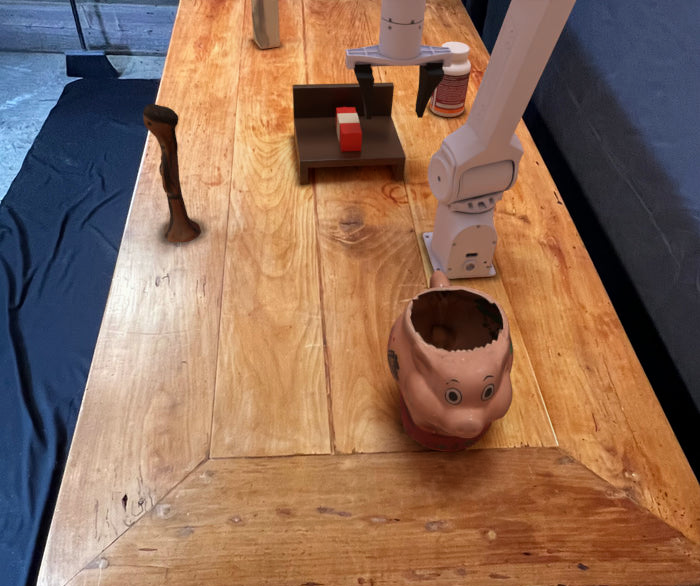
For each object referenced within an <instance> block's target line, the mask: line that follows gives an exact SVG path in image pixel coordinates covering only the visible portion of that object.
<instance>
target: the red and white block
mask: <svg viewBox="0 0 700 586" xmlns="http://www.w3.org/2000/svg"><path fill="white" fill-rule="evenodd" d="M336 129H337V135H338V140H339V142H340V147H341V151H342V152H347V151H361V144H362V131H361V127H360V122H359V118H358V115H357V113H356V109H355V107H342V108H336Z"/></svg>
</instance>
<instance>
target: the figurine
mask: <svg viewBox="0 0 700 586" xmlns="http://www.w3.org/2000/svg"><path fill="white" fill-rule="evenodd" d="M142 115H143V124H144V126H145V128H146V129H147V130H148V131H149V132H150V133H151V134H152V135H153V136H154V137H155V139H156V140H157V143H158V146H159V148H160V152H161V155H160V164H159V167H158V168H159V171H158V172H159V174H160V176H161V182H162V183H161V184H162V188H163V191H164V193H165V194H166V198H167V205H168V209H169V221H168V223H167V224H166V226H165V227H164V229H163V235H164V238H165V239H166V240H167V241H169V242H172V243H177V242H183V243H184V242H190V241H193V240H194V239H197V237H199V236H200V235H201V233H202V229H201V226H200V224H199V223H198V222H196V221H195V220H193V219H191V218H190V217H189V215H188V211H187V208H186V204H185V200H184V196H183V192H182V187H181V181H180V165H179V155H178V151H179V145H178V139H177V134H176V129H177V125H179V115H178V114H177V113H176V111H175V110H174V109H172V108H170V107H168V106H164V105H160V104H156V103H151V102H150V103H148V104H146V105H145V106H144V108H143V112H142Z"/></svg>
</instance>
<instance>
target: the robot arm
mask: <svg viewBox="0 0 700 586" xmlns="http://www.w3.org/2000/svg"><path fill="white" fill-rule="evenodd" d="M576 2H577V0H511V1H510V3H509V5H508V9H507V11H506V13H505V17H504V19H503V22H502V25H501V28H500V30H499V32H498V36H497V39H496V41H495V43H494V46H493V49H492V51H491V54H490V56H489V59H488V62H487V65H486V67H485V71H484V74H483V75H482V78H481V81H480V84H479V86H478V89H477V92H476V95H475V97H474V99H473V102H472V104H471V107H470V110H469V113H468V116H467V118H466V121H465V123H463V124H462V125H460V126H459V127H458V128H457V129H455V130H454V131H453V132H451V133H449V134H448V135H447V136H446V137H444V139H442V141H441V144H440V146H439V149H438V150H437V151H436V152H434V153H433V155H432V156H431V158H430V160H429V163H428V165H427V166H428V167H427V181H428V186H429V189H430V191H431V194H432V195H433V197H434V198H435V199H436V200H437V206H436V210H435V211H436V212H435V217H434V223H433V230H432V231H429V232H423V233H422V239H423V242H424V245H425V248H426V252H427V255H428V258H429V260H430V264H431V266H432V269H433V273H434V272H435V271H436V270H439V271H442V272H443V273H445V275H446V276H447V277H448V278H449V280H451V279H467V278H484V277H485V278H486V277H487V278H488V277H494V276H496V269H495V267H494V265H493V260H494V256H495V252H496V248H497V244H498V241H499V240H498V239H499V238H498V231H497V229H496V225H495V222H494V214H495V209H496V205H497V203H498V202H499V201H502V199H503V197H504V192H508V191H510V190H511V189H513V188H514V186H515V185H516V183H517V180H518V177H519V172H520V171H519V170H520V163H521V159H522V158H523V156H524V154H525V151H524V147H523V144H522V142H521V141H520V139H519V137H518V134H516V130H517V128H518V126H519V124H520V122H521V119H522V118H523V115H524V113H525V111H526V109H527V107H528V104H529V102H530V100H531V99H532V96H533V94H534V92H535V89H536V88H537V85H538V83H539V80H540V79H541V76H542V75H543V73H544V70H545V68H546V66H547V64H548V62H549V60H550V58H551V56H552V53H553V52H554V51H553V50H554V49H555V46H556V44H557V42H558V40H559V38H560V36H561V34H562V32H563V30H564V27H565V25H566V23H567V21H568V19H569V16H570V15H571V13H572V10H573V8H574V6H575V4H576ZM380 3H381V4H380V19H379V33H378V34H379V35H378V44H373V45H368V46H362V47H355V48H346V49H345V50H344V51H345V52H344V53H345V54H344V56H345V57H344V64H345V67H346V70H353V72H354V75H355V78H356V81H357V83H359V86H360V89H361V93H362V97H363V103H364V114H365V117H366V119H371V116H372V92H373V85H374V83H375V77H374V74H373V73H374V70H373V67H375V68H377V67H413V66H417V67H418V66H419V67H418V69H419V70H418V88H417V93H416V101H415V108H414V109H415V114H416V116H417V118H418V119H421V118H423V117H424V114H425V111H426V110H427V107H428V104H429V103H430V100H431V96H432V94H433V92H434V91H435V89H436V87H437V86H438V85H439V83H440V82H441V81H442V80H443V77H444V70H443V67H451V61H452V54H453V53H452V51H451V49H450V48H449V47H442V46H437V45H436V46H435V45H427V44H422V40H423V32H424V23H425V14H426V5H427V0H381V2H380Z"/></svg>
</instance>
